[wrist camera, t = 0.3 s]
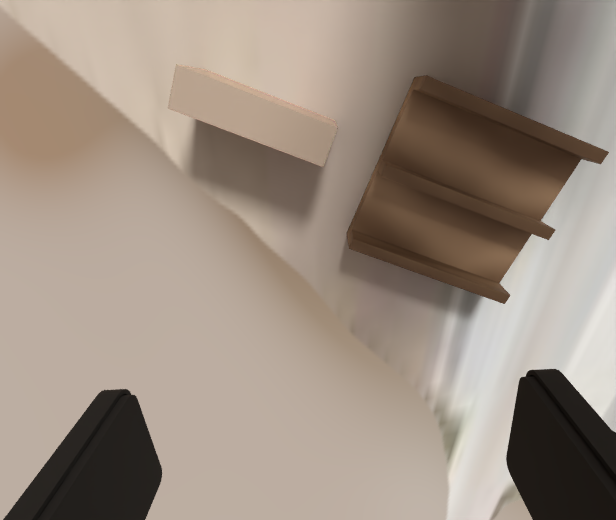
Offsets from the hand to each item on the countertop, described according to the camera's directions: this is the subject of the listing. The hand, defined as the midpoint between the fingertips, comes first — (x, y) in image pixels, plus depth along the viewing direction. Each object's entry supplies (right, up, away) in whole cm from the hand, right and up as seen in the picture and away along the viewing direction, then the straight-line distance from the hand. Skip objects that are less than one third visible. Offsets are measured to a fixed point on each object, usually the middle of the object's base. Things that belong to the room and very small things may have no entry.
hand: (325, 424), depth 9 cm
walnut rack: (+14, +11, +26) cm, 31 cm away
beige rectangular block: (-4, +17, +24) cm, 30 cm away
